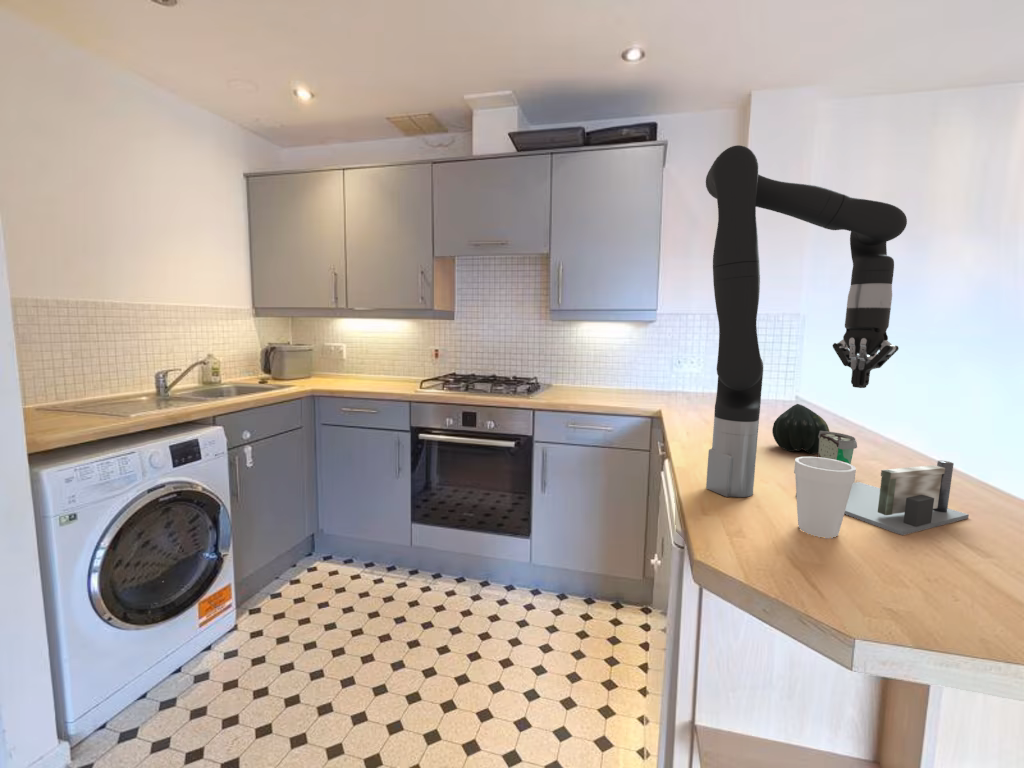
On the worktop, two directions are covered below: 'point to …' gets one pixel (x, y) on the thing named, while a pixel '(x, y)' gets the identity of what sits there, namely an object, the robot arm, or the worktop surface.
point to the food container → (836, 446)
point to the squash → (799, 429)
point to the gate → (908, 487)
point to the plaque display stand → (916, 509)
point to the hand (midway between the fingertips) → (859, 387)
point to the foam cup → (822, 494)
